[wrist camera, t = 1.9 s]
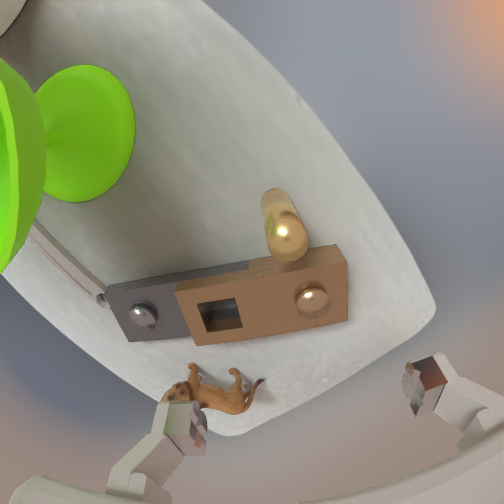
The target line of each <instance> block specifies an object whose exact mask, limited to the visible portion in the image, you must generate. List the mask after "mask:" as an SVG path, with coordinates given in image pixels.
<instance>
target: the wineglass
mask: <svg viewBox="0 0 504 504" xmlns="http://www.w3.org/2000/svg"><path fill="white" fill-rule="evenodd" d="M135 131H136V128H135V116H134V109H133V106H132V103H131V100H130V97H129V94H128V92H127V91H126V89H125V88H124V87H123V85H122V84H121V82H120V81H119V79H118V78H116V77H115V76H114V75H112V74H111V73H110V72H108V71H107V70H106V69H103V68H100V67H96V66H93V65H75V66H72V67H69V68H66V69H64V70H61V71H59V72H57V73H56V74H55V75H53V76H52V77H50V78H49V79H48V80H46V81H45V82H44V83H43V85H42V86H41V87H40V88H39V89H38V91H37V92H36V93H35V94H33V92H32V90H31V88H30V87H29V85H28V83H27V81H26V80H25V79H24V78H23V77H22V76H21V75H20V74H19V73H18V72H17V71H16V70H14V69H13V68H12V67H11V66H10V65H9V64H7V63H6V62H5V61H4V60H3V59H2V58H0V274H1V273H2V272H3V270H4V269H5V268H6V267H7V265H8V264H9V263H10V262H11V260H12V259H13V258H14V256H15V255H16V254H17V252H18V251H19V250H20V248H21V247H22V246H23V244H24V242H25V240H26V238H27V235H28V233H29V231H30V228H31V226H32V224H33V221H34V219H35V216H36V214H37V211H38V209H39V206H40V204H41V199H42V193H43V190H44V191H45V192H46V193H47V194H49V195H51V196H53V197H55V198H56V199H58V200H62V201H68V202H73V203H75V202H82V201H89V200H91V199H94V198H96V197H98V196H100V195H102V194H104V193H105V192H106V191H107V190H108V189H109V188H110V187H112V186H113V185H114V184H115V183H116V182H117V180H118V179H119V177H120V176H121V174H122V173H123V171H124V170H125V168H126V166H127V164H128V161H129V158H130V156H131V153H132V151H133V145H134V138H135Z"/></svg>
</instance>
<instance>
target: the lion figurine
mask: <svg viewBox="0 0 504 504" xmlns="http://www.w3.org/2000/svg"><path fill="white" fill-rule="evenodd" d="M188 368H189V369H191V373H190V375H189V378H188V381H185V382H178V383H176V384H174V385H173V386H172V388H171V389H169V390H168V391H167V392H166V393H165V394H164V396H163V398H162V399H161V401H197V402H198V403H199V405H200V408H199V410H200V409H202V408H212V409H217V410H221V411H223V412H225V413H228V414H232V415H235V414H240V413H243V412H245V411H246V410H247V409H248V408H249V407H250V405H251V403H252V400H253V396H254V393H255V389H256V388H257V386H258V385H259V384H260V383H261V382H262V381H263V380H264V379H259V380H257V381H256V383H255V384H254V386H253V388H252V386H251V384H250V383H247V382H245V383H243V387H244V388H246V390H245V391H244V392H242V389H241V383H242V379H241V377H240V375H239V373H238V371H237V370H236V369H235V368H231V369H230V370H229V373H230V374H231V375H234V376H235V379H236V381H235V383H234V385H233V386H232V388H231V392H230V393H226V392H225V391H224V390H222V389H221V388H219V387H216V386H213V385H208V384H200V381H201V379H200V376H199V375H198V369H197V366H196V365H195V364H194V363H190V364H189V365H188ZM251 389H252V391H251ZM247 397H249V398H248V401H247V403H245V399H246V398H247Z"/></svg>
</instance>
